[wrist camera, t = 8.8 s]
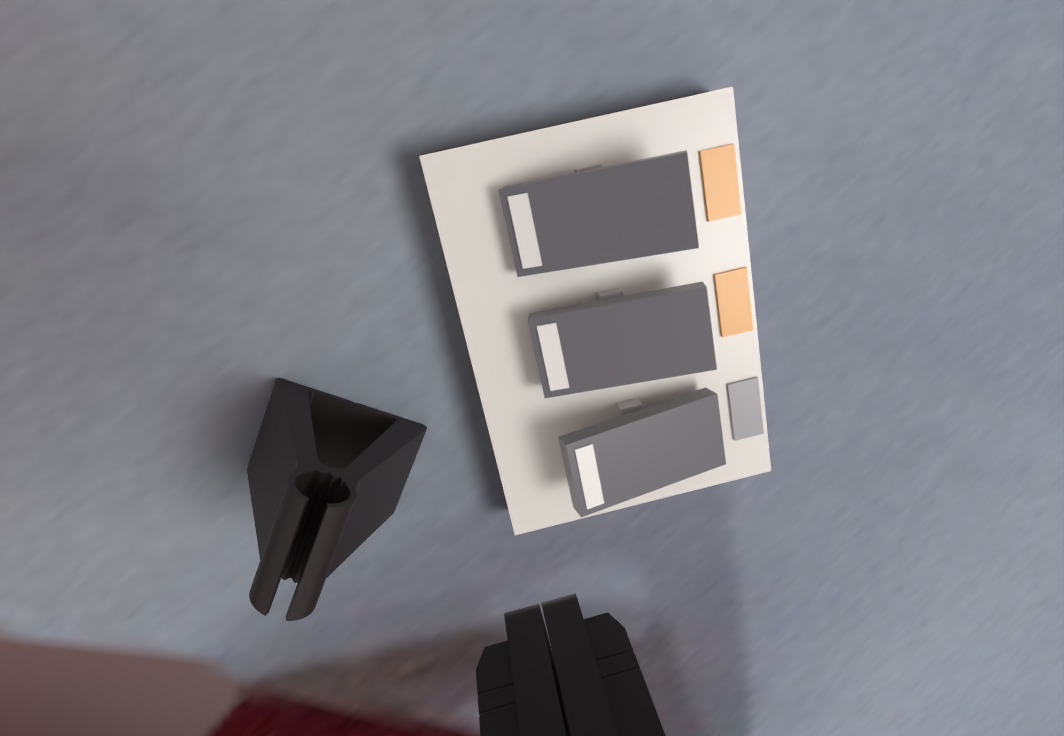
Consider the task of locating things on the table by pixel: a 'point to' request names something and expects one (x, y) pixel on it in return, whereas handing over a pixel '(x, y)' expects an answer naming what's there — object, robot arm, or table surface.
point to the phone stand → (321, 486)
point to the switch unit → (598, 293)
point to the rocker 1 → (601, 215)
